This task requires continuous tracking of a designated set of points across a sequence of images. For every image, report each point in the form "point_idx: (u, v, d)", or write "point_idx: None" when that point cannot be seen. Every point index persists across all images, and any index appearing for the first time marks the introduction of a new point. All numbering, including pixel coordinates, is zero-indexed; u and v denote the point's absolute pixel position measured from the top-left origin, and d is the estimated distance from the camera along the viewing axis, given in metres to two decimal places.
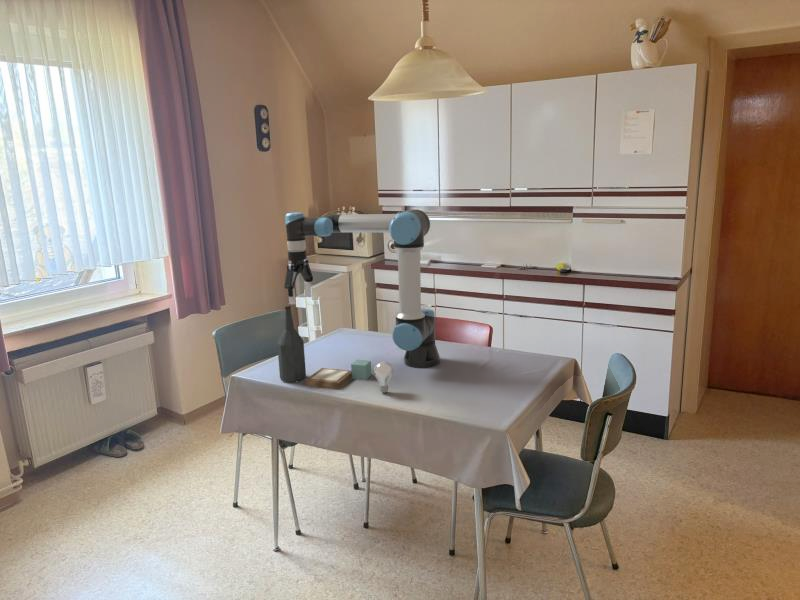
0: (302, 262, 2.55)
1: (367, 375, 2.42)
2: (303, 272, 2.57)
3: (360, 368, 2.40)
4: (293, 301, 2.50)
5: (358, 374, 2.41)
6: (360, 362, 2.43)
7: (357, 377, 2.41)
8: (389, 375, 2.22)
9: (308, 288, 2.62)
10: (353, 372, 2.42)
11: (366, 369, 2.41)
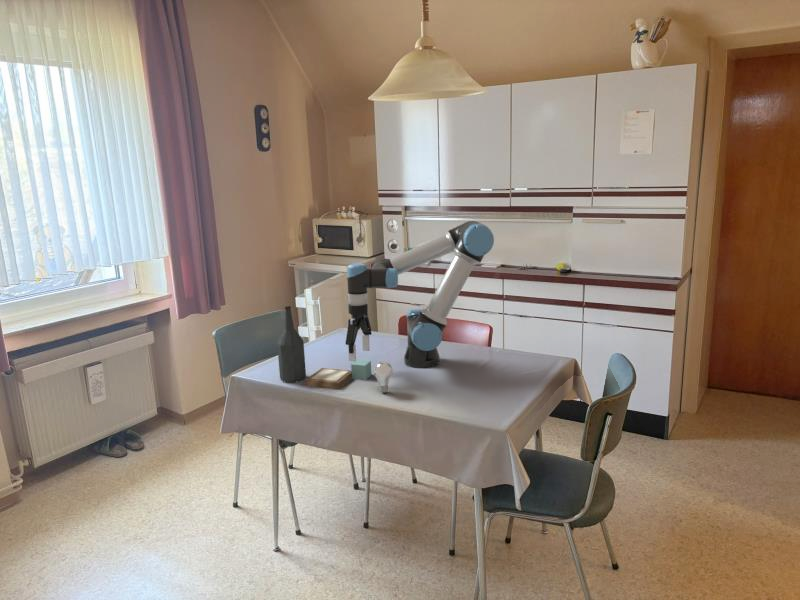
0: (362, 315, 2.40)
1: (367, 375, 2.42)
2: (363, 325, 2.43)
3: (360, 368, 2.40)
4: (353, 358, 2.35)
5: (358, 374, 2.41)
6: (360, 362, 2.43)
7: (357, 377, 2.41)
8: (389, 375, 2.22)
9: (366, 341, 2.47)
10: (353, 372, 2.42)
11: (366, 369, 2.41)
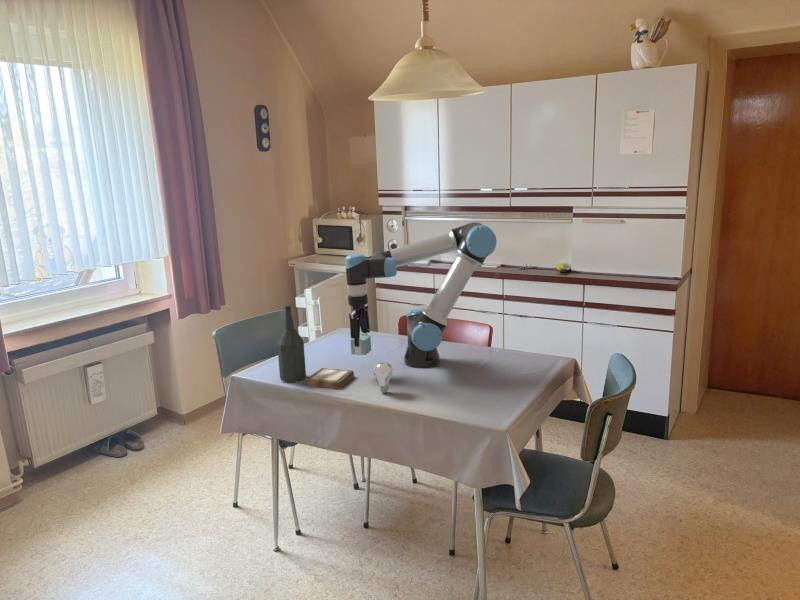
0: (363, 305, 2.39)
1: (367, 350, 2.40)
2: (362, 319, 2.41)
3: None
4: (359, 351, 2.38)
5: None
6: None
7: None
8: (389, 375, 2.22)
9: None
10: (353, 347, 2.39)
11: (366, 344, 2.38)
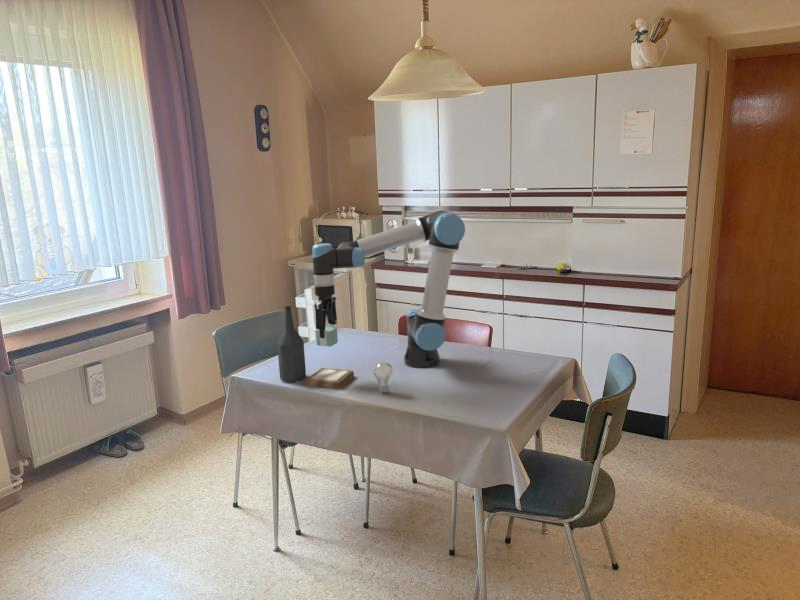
0: (330, 296, 2.34)
1: (332, 342, 2.34)
2: (329, 310, 2.35)
3: None
4: (325, 342, 2.33)
5: None
6: (325, 328, 2.36)
7: None
8: (389, 375, 2.22)
9: None
10: (318, 338, 2.34)
11: (331, 335, 2.33)
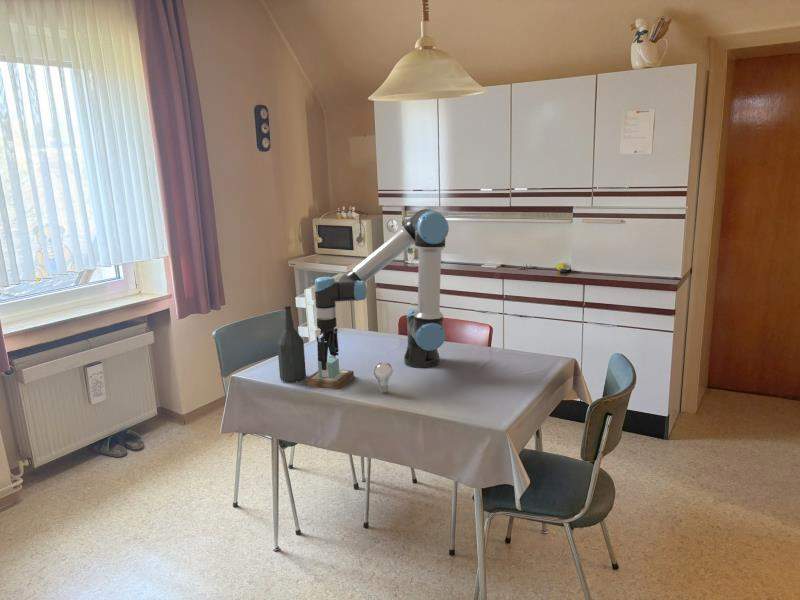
0: (332, 328, 2.37)
1: (334, 373, 2.37)
2: (330, 342, 2.38)
3: None
4: (326, 374, 2.35)
5: None
6: (327, 359, 2.39)
7: None
8: (389, 375, 2.22)
9: None
10: (320, 370, 2.37)
11: (333, 367, 2.36)
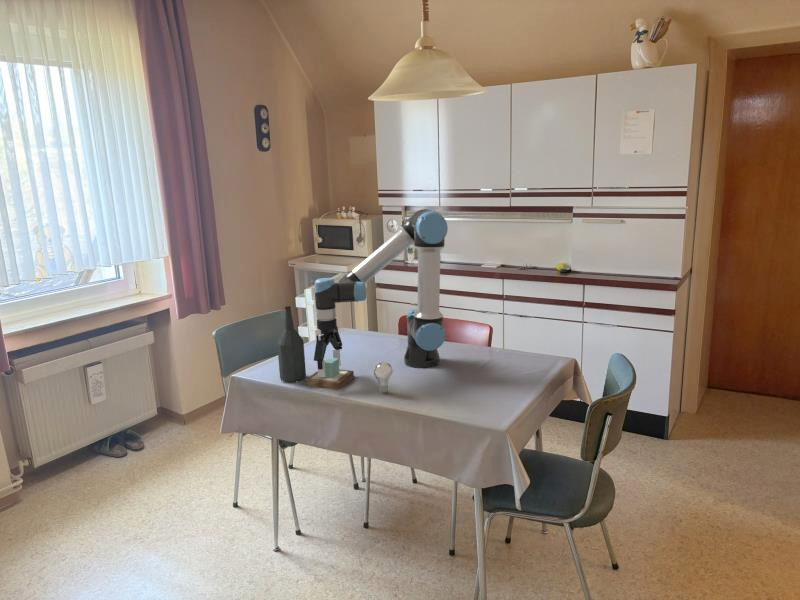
0: (332, 330, 2.37)
1: (334, 373, 2.37)
2: (332, 340, 2.40)
3: (327, 366, 2.35)
4: (323, 374, 2.32)
5: None
6: (327, 359, 2.39)
7: None
8: (389, 375, 2.22)
9: (337, 356, 2.44)
10: None
11: (333, 367, 2.36)
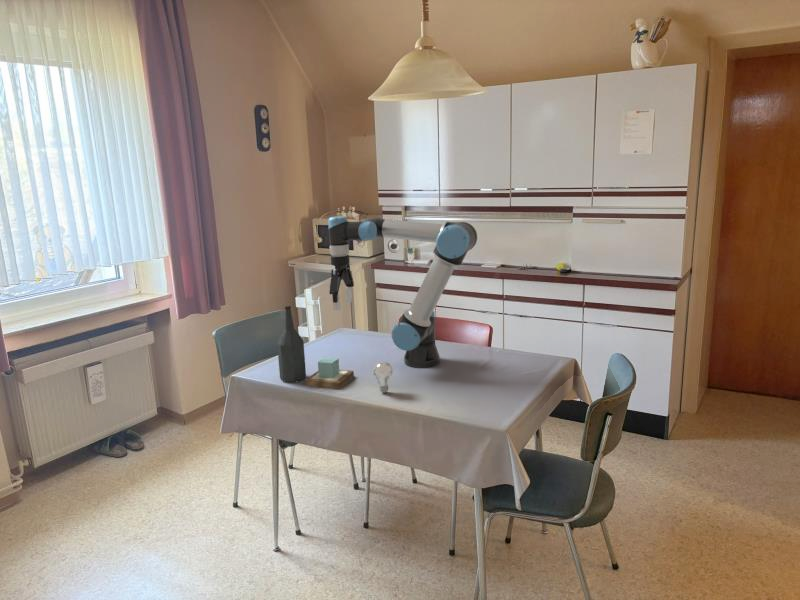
0: (345, 267, 2.50)
1: (334, 373, 2.37)
2: (345, 277, 2.52)
3: (327, 366, 2.35)
4: (338, 307, 2.45)
5: (324, 372, 2.37)
6: (327, 359, 2.39)
7: (324, 375, 2.37)
8: (389, 375, 2.22)
9: (349, 293, 2.57)
10: (320, 370, 2.37)
11: (333, 367, 2.36)
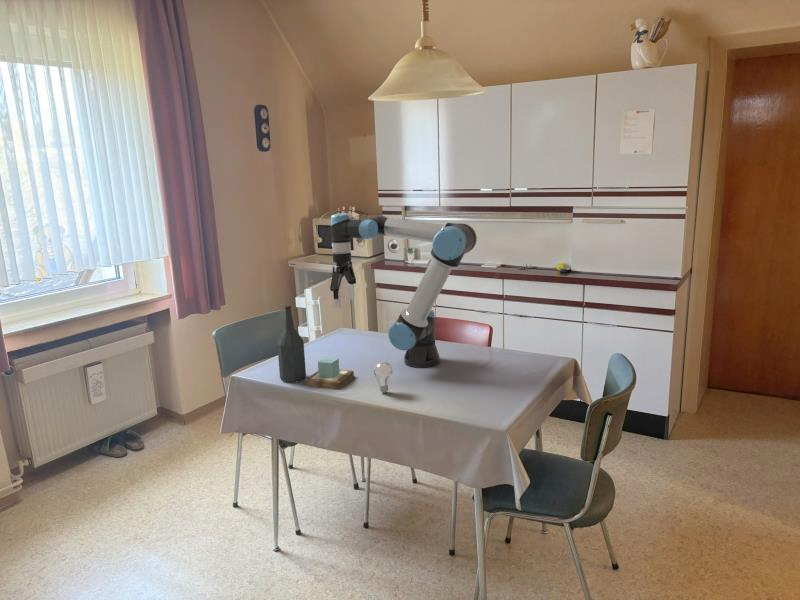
0: (346, 264, 2.52)
1: (334, 373, 2.37)
2: (347, 274, 2.54)
3: (327, 366, 2.35)
4: (338, 303, 2.47)
5: (324, 372, 2.37)
6: (327, 359, 2.39)
7: (324, 375, 2.37)
8: (389, 375, 2.22)
9: (351, 290, 2.59)
10: (320, 370, 2.37)
11: (333, 367, 2.36)
